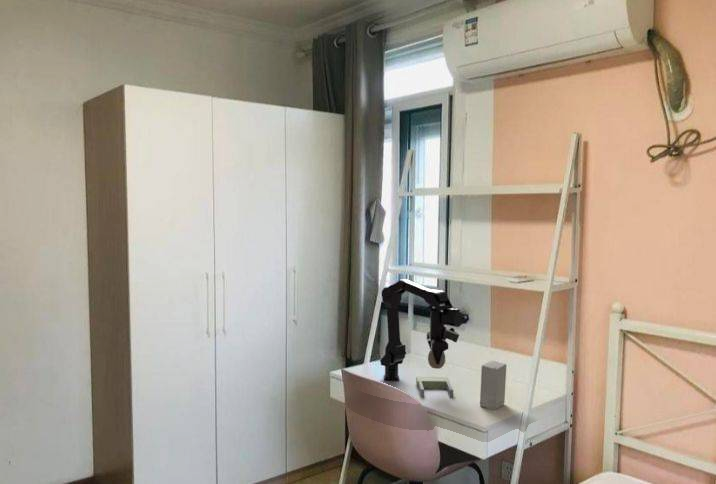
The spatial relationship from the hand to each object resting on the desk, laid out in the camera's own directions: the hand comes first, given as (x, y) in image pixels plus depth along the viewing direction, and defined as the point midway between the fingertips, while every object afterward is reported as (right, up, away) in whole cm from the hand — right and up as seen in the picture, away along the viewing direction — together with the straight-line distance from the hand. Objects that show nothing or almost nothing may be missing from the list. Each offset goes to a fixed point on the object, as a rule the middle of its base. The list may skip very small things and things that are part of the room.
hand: (436, 361), depth 226 cm
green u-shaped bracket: (0, -12, +2) cm, 12 cm away
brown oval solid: (0, -2, 0) cm, 2 cm away
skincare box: (+19, -13, -15) cm, 27 cm away
